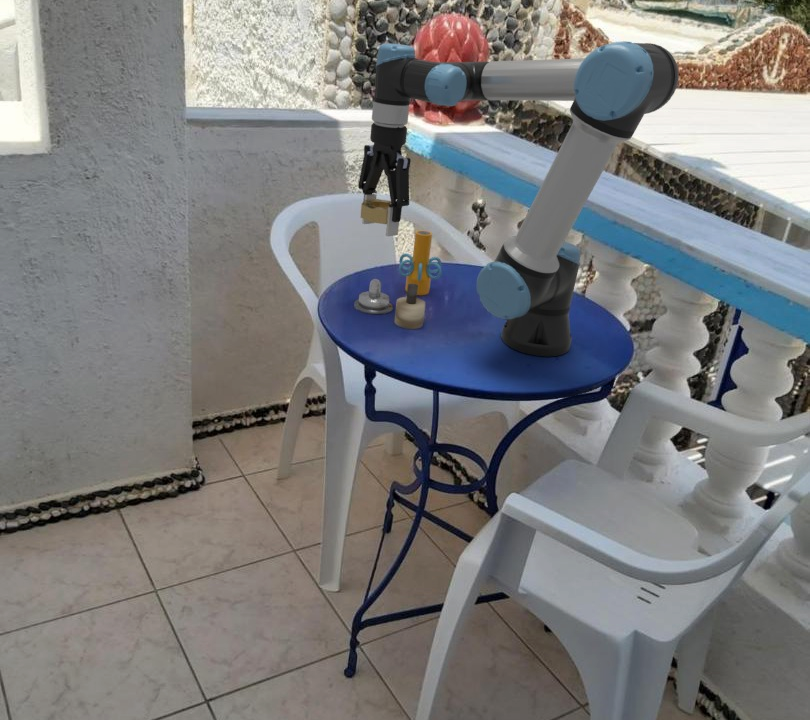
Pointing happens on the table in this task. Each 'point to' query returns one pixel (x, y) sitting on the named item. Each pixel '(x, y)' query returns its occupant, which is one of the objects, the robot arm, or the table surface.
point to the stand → (410, 309)
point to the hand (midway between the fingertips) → (379, 229)
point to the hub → (373, 300)
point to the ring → (375, 210)
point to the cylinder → (420, 263)
